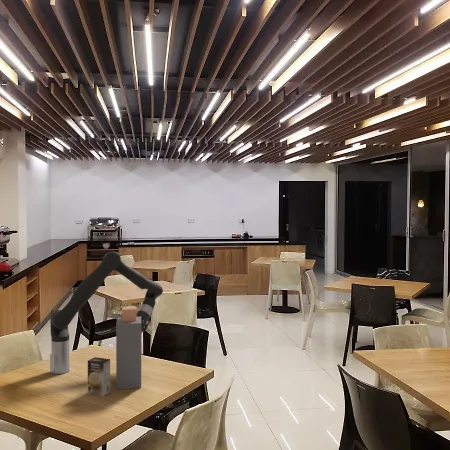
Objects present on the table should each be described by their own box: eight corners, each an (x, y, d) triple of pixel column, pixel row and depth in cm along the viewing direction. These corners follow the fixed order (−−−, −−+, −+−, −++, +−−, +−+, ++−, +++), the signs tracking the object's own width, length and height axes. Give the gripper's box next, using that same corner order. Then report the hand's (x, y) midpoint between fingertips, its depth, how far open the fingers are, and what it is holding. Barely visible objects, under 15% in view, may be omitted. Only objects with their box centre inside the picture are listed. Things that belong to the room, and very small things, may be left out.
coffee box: (86, 394, 228) (86, 360, 228) (94, 389, 234) (94, 356, 234) (103, 396, 225) (103, 362, 225) (110, 391, 231) (110, 358, 231)
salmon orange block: (123, 313, 258) (123, 302, 258) (136, 313, 259) (136, 302, 259) (121, 321, 239) (121, 309, 239) (136, 321, 241) (136, 309, 241)
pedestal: (118, 378, 250) (117, 317, 249) (141, 377, 252) (141, 316, 251) (116, 389, 234) (116, 324, 234) (141, 387, 236) (141, 323, 236)
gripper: (131, 312, 273) (119, 336, 262) (148, 307, 265) (136, 332, 254) (139, 320, 277) (128, 343, 266) (156, 316, 268) (145, 340, 257)
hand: (132, 338), depth 260 cm, fingers open, 8 cm apart
